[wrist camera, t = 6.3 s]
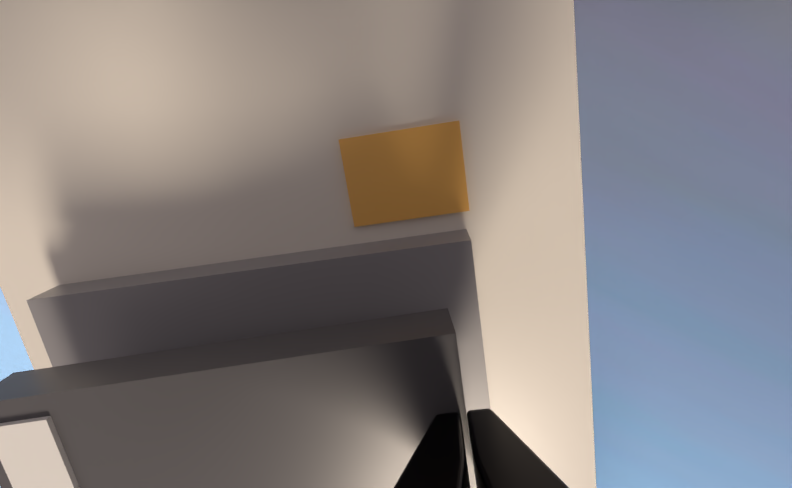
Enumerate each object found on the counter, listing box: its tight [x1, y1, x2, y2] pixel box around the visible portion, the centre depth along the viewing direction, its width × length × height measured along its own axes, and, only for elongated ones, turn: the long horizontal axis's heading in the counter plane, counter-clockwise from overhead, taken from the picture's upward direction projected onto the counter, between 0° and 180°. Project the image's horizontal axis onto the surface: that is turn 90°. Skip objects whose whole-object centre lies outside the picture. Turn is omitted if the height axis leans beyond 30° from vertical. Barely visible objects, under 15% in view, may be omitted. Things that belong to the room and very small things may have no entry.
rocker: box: [0, 308, 476, 488], centre depth 8 cm, size 8×4×1 cm, turn 99°
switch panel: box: [0, 0, 596, 488], centre depth 9 cm, size 13×25×3 cm, turn 9°
